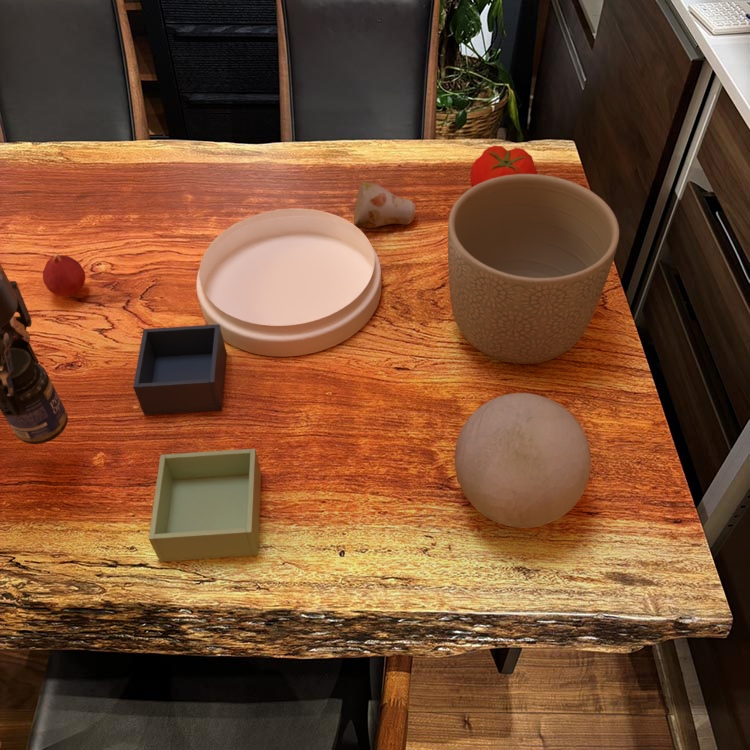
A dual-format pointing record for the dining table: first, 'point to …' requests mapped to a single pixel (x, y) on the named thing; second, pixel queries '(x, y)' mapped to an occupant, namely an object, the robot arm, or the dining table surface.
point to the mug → (381, 207)
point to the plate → (289, 282)
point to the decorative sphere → (522, 460)
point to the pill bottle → (35, 401)
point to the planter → (528, 264)
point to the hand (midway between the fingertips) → (22, 389)
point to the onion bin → (206, 505)
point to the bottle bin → (181, 370)
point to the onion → (63, 276)
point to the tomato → (501, 164)
